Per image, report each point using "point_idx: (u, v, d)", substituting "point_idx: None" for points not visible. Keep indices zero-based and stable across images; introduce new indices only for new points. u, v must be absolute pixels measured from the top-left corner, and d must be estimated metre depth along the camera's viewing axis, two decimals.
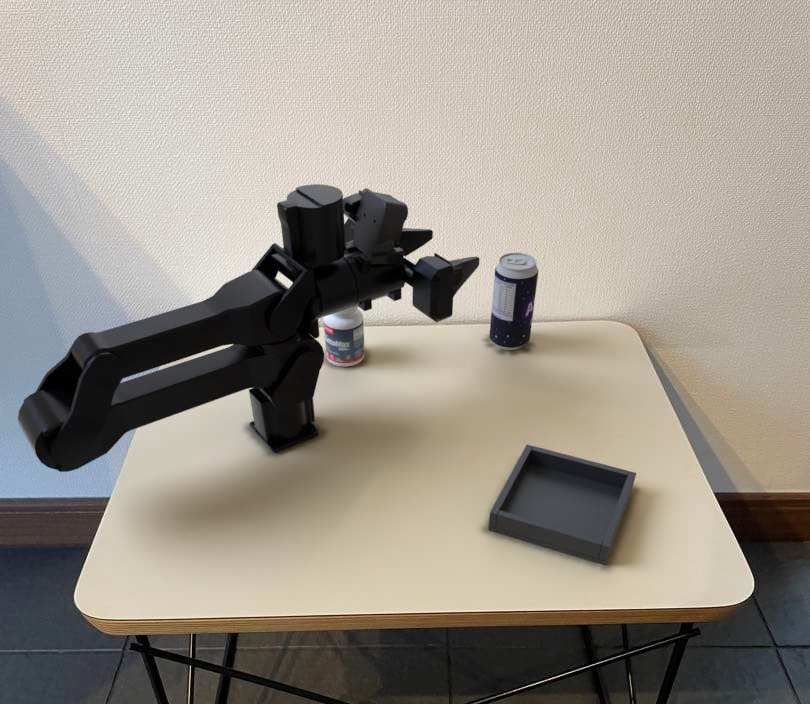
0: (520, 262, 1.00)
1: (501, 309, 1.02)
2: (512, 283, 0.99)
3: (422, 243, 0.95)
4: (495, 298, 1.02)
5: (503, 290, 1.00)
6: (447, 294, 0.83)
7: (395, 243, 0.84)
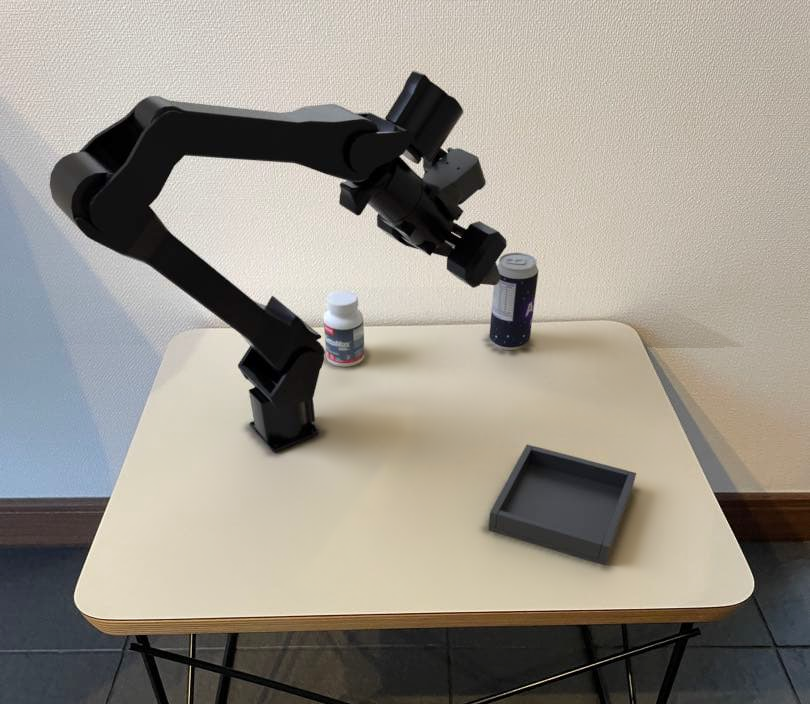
0: (520, 262, 1.00)
1: (501, 309, 1.02)
2: (512, 283, 0.99)
3: (442, 253, 0.97)
4: (495, 298, 1.02)
5: (503, 290, 1.00)
6: (490, 260, 0.84)
7: (461, 200, 0.86)
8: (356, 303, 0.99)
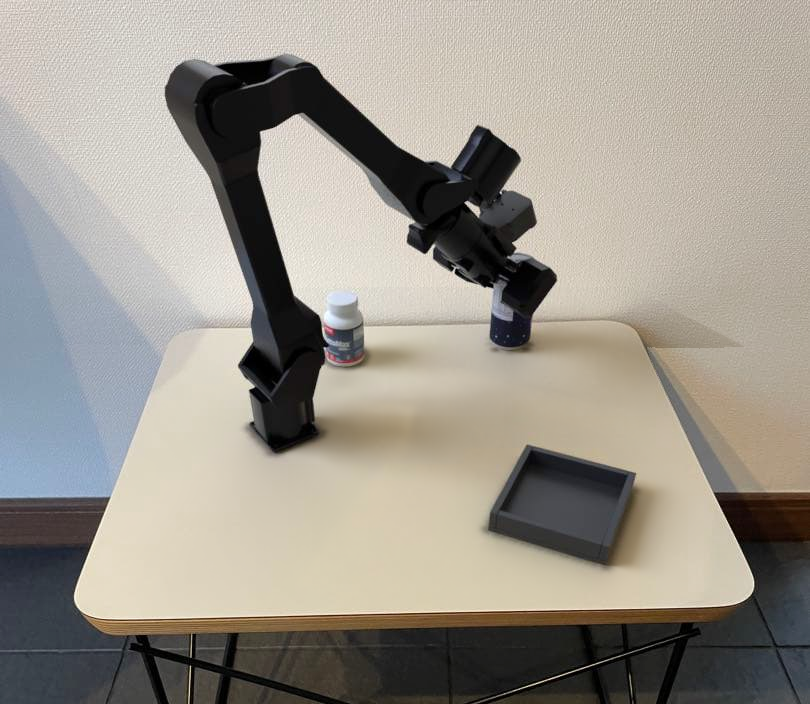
0: None
1: (501, 309, 1.02)
2: None
3: None
4: (495, 298, 1.02)
5: None
6: (542, 294, 0.92)
7: (515, 238, 0.94)
8: (356, 303, 0.99)
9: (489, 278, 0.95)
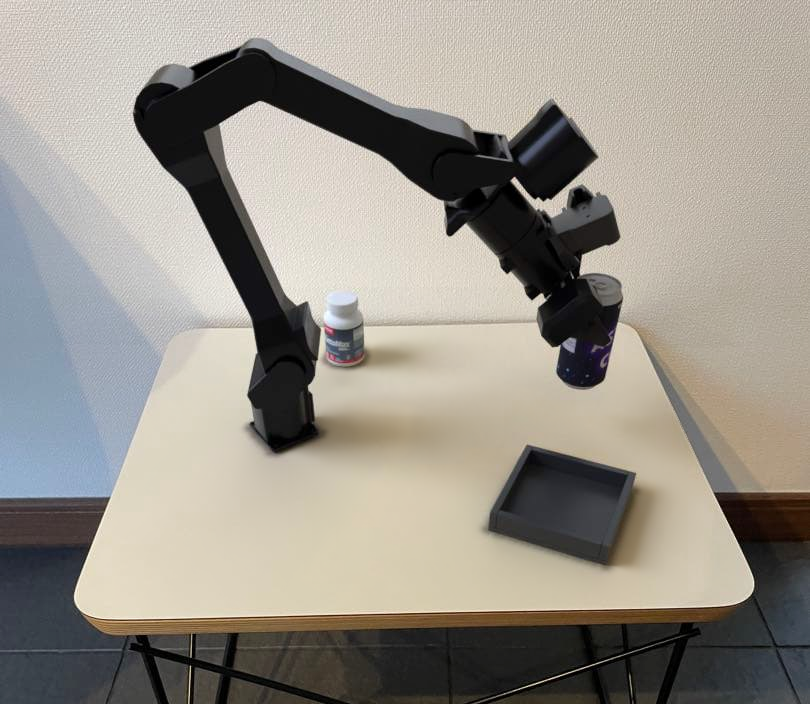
0: (600, 286, 0.81)
1: None
2: None
3: None
4: None
5: None
6: (575, 323, 0.74)
7: (581, 251, 0.76)
8: (356, 303, 0.99)
9: (538, 290, 0.79)
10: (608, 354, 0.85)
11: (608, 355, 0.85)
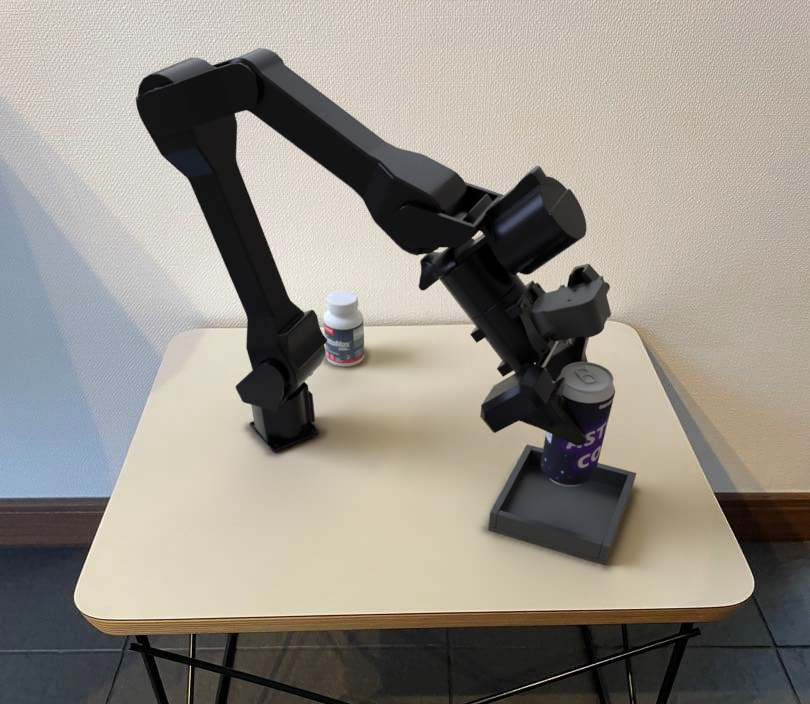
0: (586, 379, 0.71)
1: None
2: None
3: None
4: None
5: None
6: (512, 413, 0.66)
7: (554, 337, 0.68)
8: (356, 303, 0.99)
9: (509, 367, 0.72)
10: (590, 455, 0.75)
11: (590, 456, 0.75)
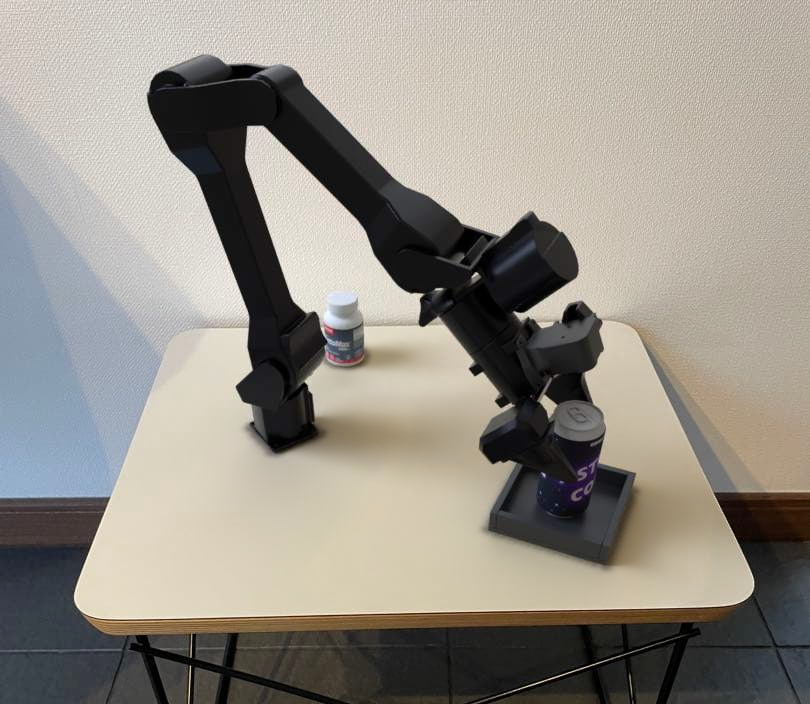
0: (578, 418, 0.74)
1: None
2: None
3: None
4: None
5: None
6: (509, 446, 0.69)
7: (549, 371, 0.70)
8: (356, 303, 0.99)
9: (506, 400, 0.74)
10: (583, 489, 0.78)
11: (583, 490, 0.78)
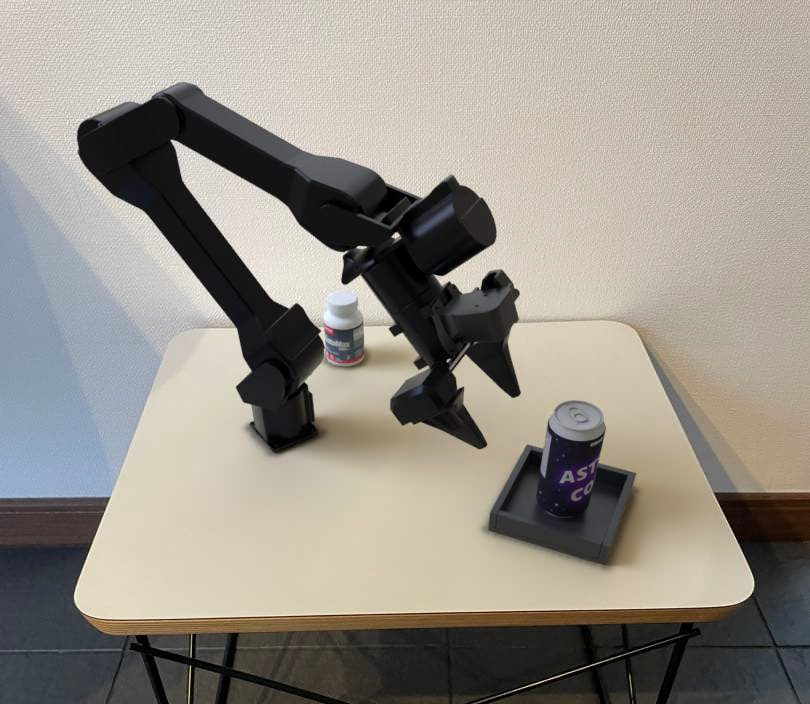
0: (578, 417, 0.74)
1: (542, 457, 0.79)
2: (549, 434, 0.75)
3: (503, 387, 0.82)
4: None
5: None
6: (416, 410, 0.71)
7: (462, 339, 0.72)
8: (356, 303, 0.99)
9: (424, 362, 0.76)
10: (583, 489, 0.78)
11: (583, 490, 0.78)
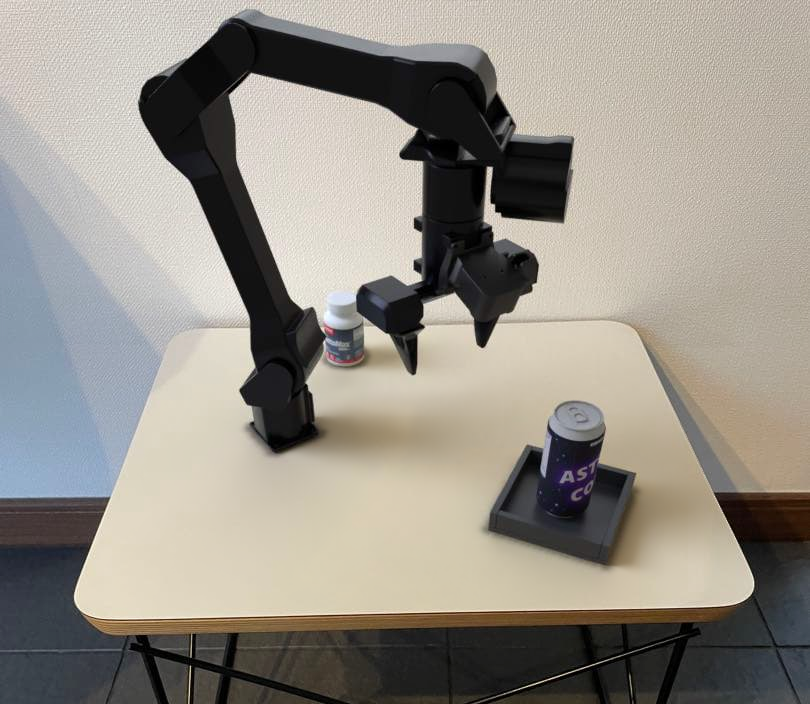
0: (578, 417, 0.74)
1: (542, 457, 0.79)
2: (549, 434, 0.75)
3: (476, 330, 0.82)
4: None
5: None
6: (371, 315, 0.71)
7: (456, 289, 0.71)
8: None
9: (420, 270, 0.74)
10: (583, 489, 0.78)
11: (583, 490, 0.78)
